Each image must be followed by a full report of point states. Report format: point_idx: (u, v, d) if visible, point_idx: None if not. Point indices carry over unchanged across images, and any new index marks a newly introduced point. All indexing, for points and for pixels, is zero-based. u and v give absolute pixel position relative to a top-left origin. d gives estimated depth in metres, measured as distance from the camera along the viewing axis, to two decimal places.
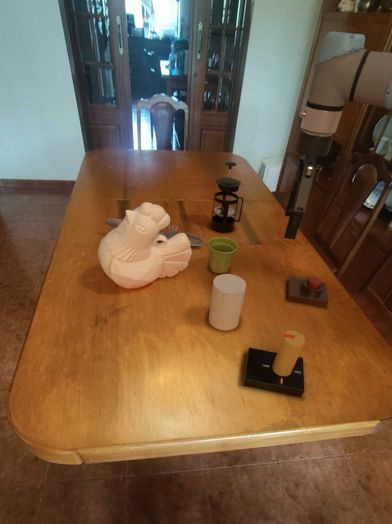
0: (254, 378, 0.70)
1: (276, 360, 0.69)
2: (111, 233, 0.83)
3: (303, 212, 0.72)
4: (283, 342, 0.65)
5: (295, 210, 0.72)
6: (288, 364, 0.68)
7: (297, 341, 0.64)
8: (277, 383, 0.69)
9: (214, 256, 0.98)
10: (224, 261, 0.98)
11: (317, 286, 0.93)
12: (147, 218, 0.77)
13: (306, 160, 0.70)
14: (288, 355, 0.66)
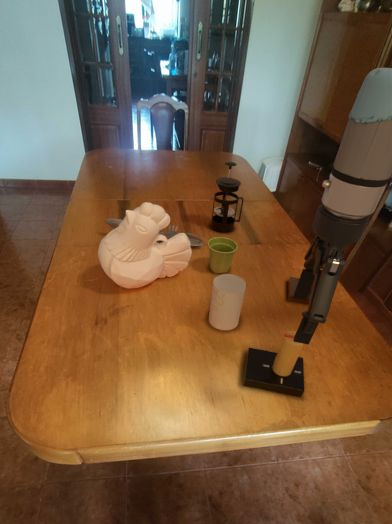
0: (254, 378, 0.70)
1: (276, 360, 0.69)
2: (111, 233, 0.83)
3: (323, 321, 0.49)
4: (283, 342, 0.65)
5: (312, 318, 0.49)
6: (288, 364, 0.68)
7: None
8: (277, 383, 0.69)
9: (214, 256, 0.98)
10: (224, 261, 0.98)
11: None
12: (147, 218, 0.77)
13: (329, 248, 0.48)
14: (288, 355, 0.66)
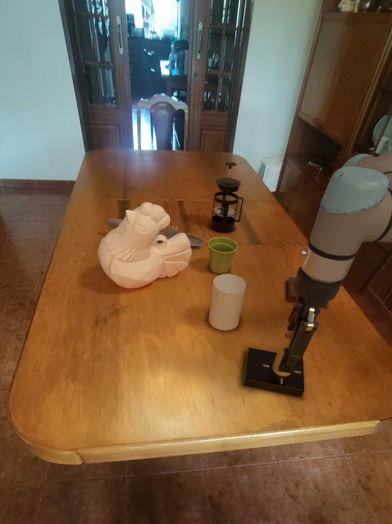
0: (254, 378, 0.70)
1: (276, 360, 0.69)
2: (111, 233, 0.83)
3: (299, 359, 0.61)
4: (283, 342, 0.65)
5: (290, 356, 0.61)
6: None
7: None
8: (277, 383, 0.69)
9: (214, 256, 0.98)
10: (224, 261, 0.98)
11: None
12: (147, 218, 0.77)
13: (308, 305, 0.55)
14: None
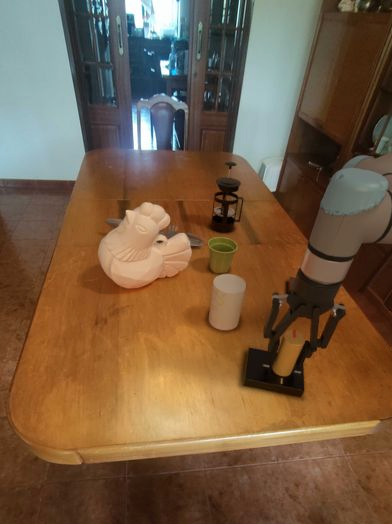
0: (254, 378, 0.70)
1: None
2: (111, 233, 0.83)
3: None
4: None
5: None
6: (276, 355, 0.69)
7: (290, 338, 0.65)
8: (277, 383, 0.69)
9: (214, 256, 0.98)
10: (224, 261, 0.98)
11: None
12: (147, 218, 0.77)
13: None
14: None
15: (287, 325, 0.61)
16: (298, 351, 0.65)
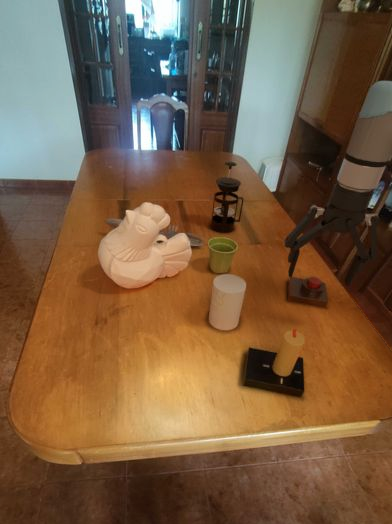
0: (254, 378, 0.70)
1: None
2: (111, 233, 0.83)
3: (285, 243, 0.71)
4: None
5: (285, 239, 0.72)
6: (276, 355, 0.69)
7: (290, 338, 0.65)
8: (277, 383, 0.69)
9: (214, 256, 0.98)
10: (224, 261, 0.98)
11: (317, 286, 0.93)
12: (147, 218, 0.77)
13: None
14: None
15: (314, 236, 0.69)
16: (298, 351, 0.65)
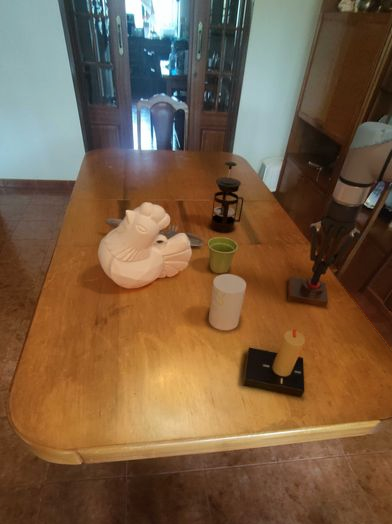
0: (254, 378, 0.70)
1: None
2: (111, 233, 0.83)
3: None
4: None
5: (310, 255, 0.89)
6: (276, 355, 0.69)
7: (290, 338, 0.65)
8: (277, 383, 0.69)
9: (214, 256, 0.98)
10: (224, 261, 0.98)
11: None
12: (147, 218, 0.77)
13: None
14: None
15: (325, 246, 0.84)
16: (298, 351, 0.65)
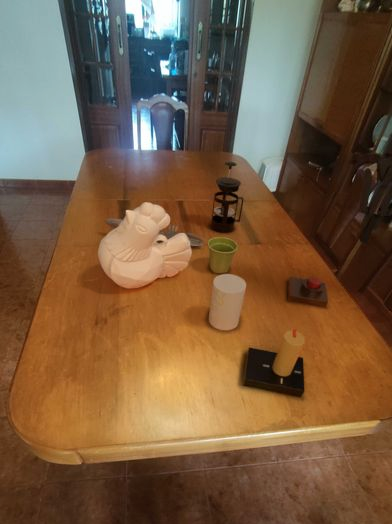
0: (254, 378, 0.70)
1: None
2: (111, 233, 0.83)
3: (361, 211, 0.77)
4: None
5: (360, 207, 0.78)
6: (276, 355, 0.69)
7: (290, 338, 0.65)
8: (277, 383, 0.69)
9: (214, 256, 0.98)
10: (224, 261, 0.98)
11: (317, 286, 0.93)
12: (147, 218, 0.77)
13: None
14: None
15: (380, 193, 0.74)
16: (298, 351, 0.65)
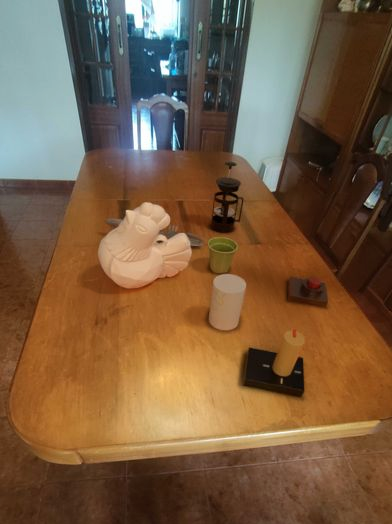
0: (254, 378, 0.70)
1: None
2: (111, 233, 0.83)
3: (382, 198, 0.75)
4: None
5: (380, 194, 0.76)
6: (276, 355, 0.69)
7: (290, 338, 0.65)
8: (277, 383, 0.69)
9: (214, 256, 0.98)
10: (224, 261, 0.98)
11: (317, 286, 0.93)
12: (147, 218, 0.77)
13: None
14: None
15: None
16: (298, 351, 0.65)
